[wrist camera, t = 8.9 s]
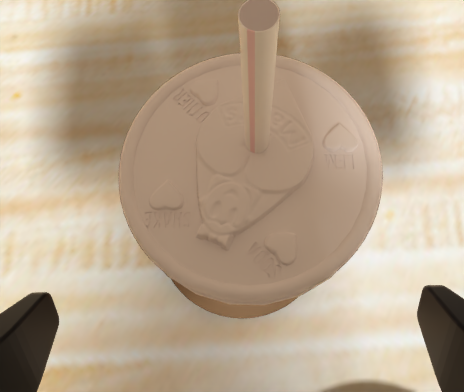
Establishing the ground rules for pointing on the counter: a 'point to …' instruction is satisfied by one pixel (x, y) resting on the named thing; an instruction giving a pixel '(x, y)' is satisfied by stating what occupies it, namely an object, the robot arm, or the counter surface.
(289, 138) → the smoothie
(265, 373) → the counter surface
